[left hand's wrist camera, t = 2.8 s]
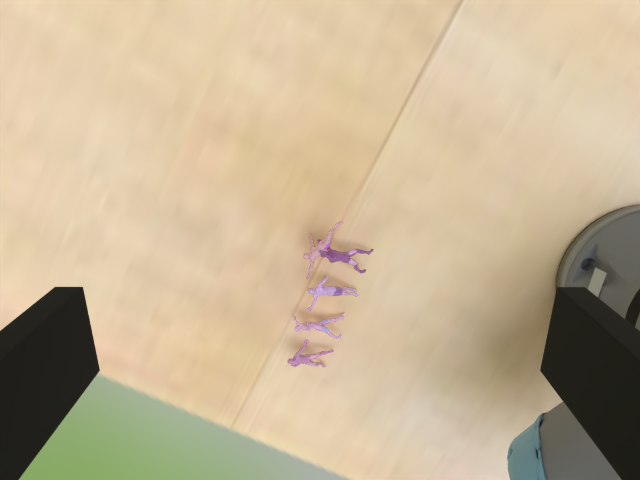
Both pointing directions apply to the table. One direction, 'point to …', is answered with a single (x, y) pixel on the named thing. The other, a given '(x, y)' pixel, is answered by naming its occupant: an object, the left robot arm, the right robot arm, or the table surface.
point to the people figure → (324, 293)
